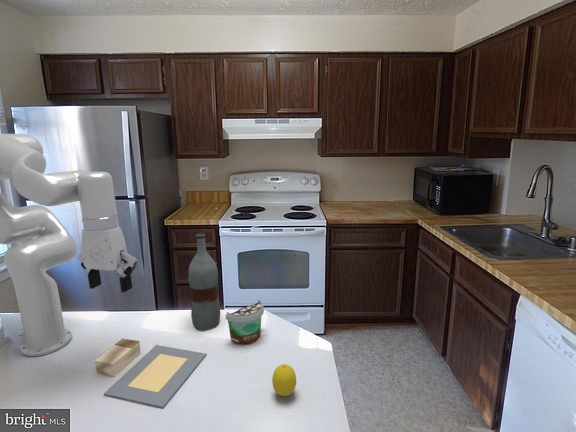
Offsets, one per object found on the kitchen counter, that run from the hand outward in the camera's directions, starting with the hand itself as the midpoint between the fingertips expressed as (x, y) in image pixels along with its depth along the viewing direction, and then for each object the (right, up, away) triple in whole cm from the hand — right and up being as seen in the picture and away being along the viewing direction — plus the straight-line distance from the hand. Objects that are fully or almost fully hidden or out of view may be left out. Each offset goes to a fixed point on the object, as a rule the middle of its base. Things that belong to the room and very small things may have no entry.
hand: (111, 288), depth 89 cm
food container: (+34, -19, +15) cm, 41 cm away
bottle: (+19, -17, +24) cm, 35 cm away
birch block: (0, -21, +5) cm, 22 cm away
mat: (+12, -22, +1) cm, 25 cm away
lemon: (+44, -24, -7) cm, 51 cm away
